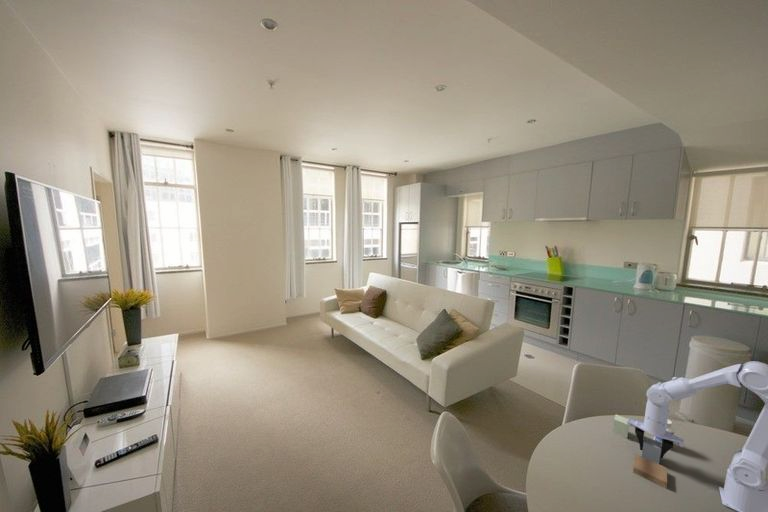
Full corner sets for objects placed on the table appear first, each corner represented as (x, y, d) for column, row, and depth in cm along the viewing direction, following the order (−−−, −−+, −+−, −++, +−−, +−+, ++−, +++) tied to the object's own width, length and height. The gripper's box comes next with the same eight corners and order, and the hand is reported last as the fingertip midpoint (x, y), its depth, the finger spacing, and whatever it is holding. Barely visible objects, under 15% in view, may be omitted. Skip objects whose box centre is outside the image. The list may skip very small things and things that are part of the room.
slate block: (658, 457, 100) (661, 442, 100) (658, 465, 97) (661, 449, 96) (642, 450, 103) (644, 435, 103) (641, 457, 100) (643, 442, 100)
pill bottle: (675, 450, 104) (679, 426, 103) (659, 447, 105) (662, 423, 104) (664, 439, 109) (667, 416, 108) (648, 436, 110) (651, 414, 109)
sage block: (628, 433, 112) (629, 419, 111) (627, 439, 109) (628, 425, 108) (613, 427, 115) (615, 414, 115) (612, 432, 112) (614, 419, 111)
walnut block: (665, 474, 94) (666, 467, 94) (666, 489, 88) (667, 482, 88) (634, 460, 100) (635, 453, 99) (632, 473, 94) (633, 467, 94)
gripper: (685, 423, 96) (679, 458, 98) (629, 403, 106) (625, 436, 108) (686, 433, 91) (680, 470, 93) (628, 412, 101) (623, 445, 103)
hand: (650, 452), depth 100 cm, fingers closed on slate block, 4 cm apart
